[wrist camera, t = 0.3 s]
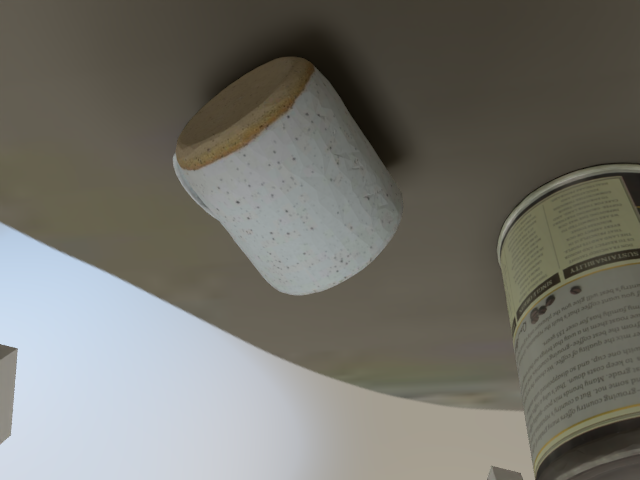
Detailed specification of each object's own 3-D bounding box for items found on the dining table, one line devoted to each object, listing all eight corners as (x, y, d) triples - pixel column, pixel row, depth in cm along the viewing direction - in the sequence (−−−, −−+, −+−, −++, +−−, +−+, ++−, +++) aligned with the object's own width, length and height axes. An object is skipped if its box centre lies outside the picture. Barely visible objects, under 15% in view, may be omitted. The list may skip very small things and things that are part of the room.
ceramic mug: (318, 17, 23) (284, 112, 17) (408, 160, 27) (404, 273, 21) (147, 123, 28) (78, 223, 22) (246, 229, 32) (209, 335, 26)
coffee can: (738, 153, 25) (970, 454, 14) (674, 302, 31) (800, 577, 21) (501, 166, 27) (556, 437, 16) (489, 303, 33) (523, 555, 23)
